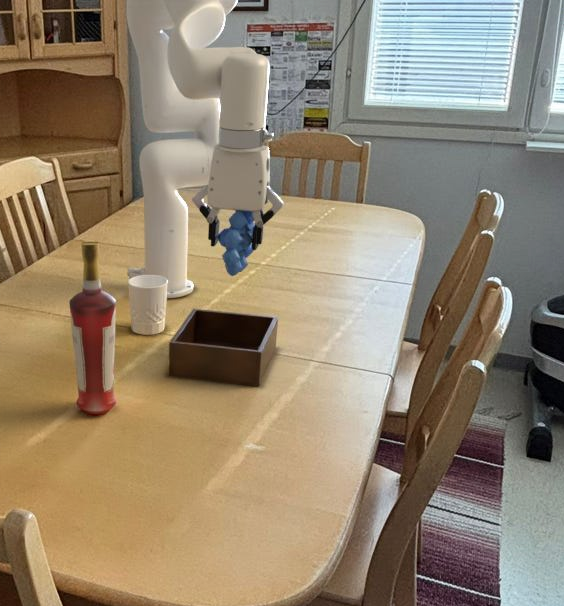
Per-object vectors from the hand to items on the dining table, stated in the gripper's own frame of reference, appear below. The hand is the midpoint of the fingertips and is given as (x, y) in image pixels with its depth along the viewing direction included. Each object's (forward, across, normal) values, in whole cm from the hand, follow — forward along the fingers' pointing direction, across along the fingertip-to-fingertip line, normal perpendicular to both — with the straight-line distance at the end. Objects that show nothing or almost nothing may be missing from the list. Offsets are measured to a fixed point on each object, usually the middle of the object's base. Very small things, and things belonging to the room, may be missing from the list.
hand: (234, 245), depth 152 cm
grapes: (+5, 0, 0) cm, 5 cm away
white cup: (+21, +19, -8) cm, 29 cm away
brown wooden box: (+21, 0, +4) cm, 21 cm away
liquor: (+21, +16, +29) cm, 39 cm away
